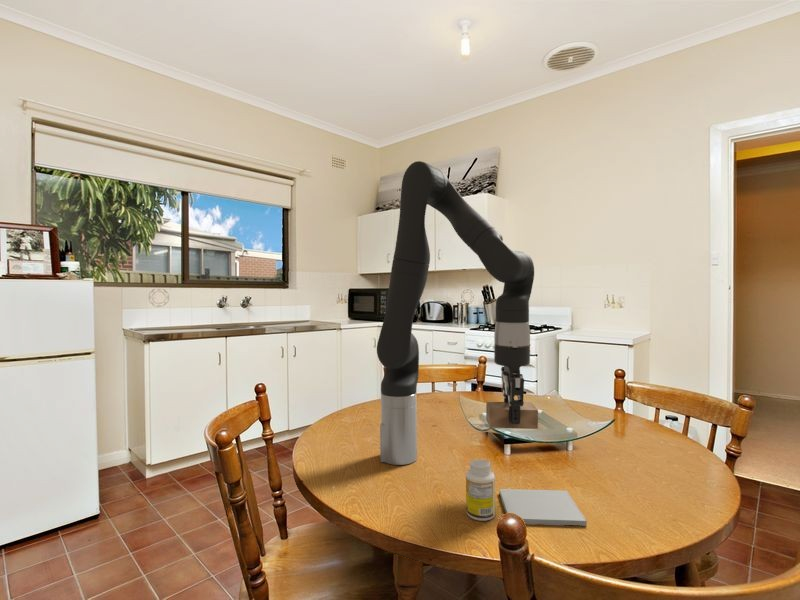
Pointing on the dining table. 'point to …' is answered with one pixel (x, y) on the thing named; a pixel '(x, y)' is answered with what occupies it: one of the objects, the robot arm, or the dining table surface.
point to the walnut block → (500, 415)
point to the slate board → (542, 506)
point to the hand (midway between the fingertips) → (511, 418)
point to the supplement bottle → (480, 490)
